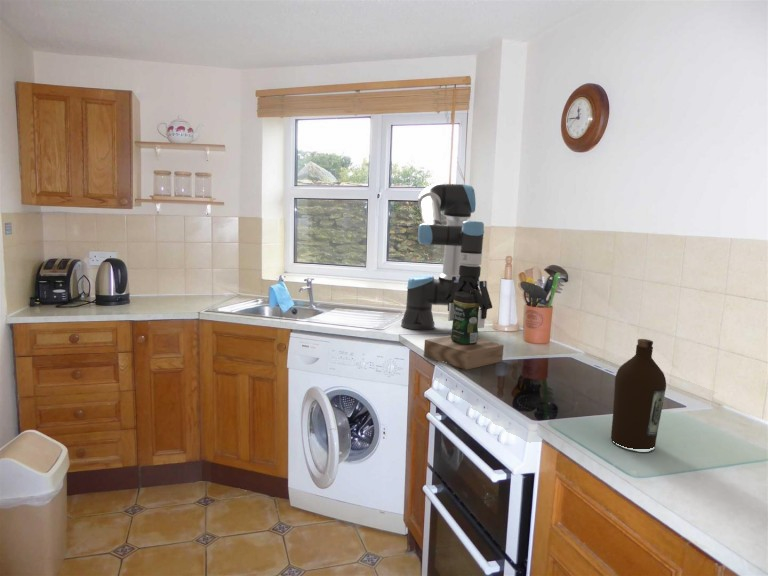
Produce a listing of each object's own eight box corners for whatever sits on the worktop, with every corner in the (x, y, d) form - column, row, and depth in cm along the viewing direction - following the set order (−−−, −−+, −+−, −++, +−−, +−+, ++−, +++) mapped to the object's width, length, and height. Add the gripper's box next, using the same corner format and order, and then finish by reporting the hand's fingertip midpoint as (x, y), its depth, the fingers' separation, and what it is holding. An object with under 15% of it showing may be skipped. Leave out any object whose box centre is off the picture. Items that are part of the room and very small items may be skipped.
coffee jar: (447, 339, 193) (450, 289, 191) (464, 338, 197) (468, 289, 195) (463, 346, 185) (467, 293, 182) (481, 344, 189) (485, 293, 186)
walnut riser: (423, 355, 193) (424, 339, 192) (459, 348, 206) (460, 333, 205) (466, 369, 178) (467, 352, 177) (502, 361, 191) (503, 345, 190)
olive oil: (601, 443, 124) (613, 339, 120) (616, 431, 132) (627, 332, 128) (650, 459, 117) (665, 348, 113) (662, 444, 125) (676, 341, 121)
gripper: (436, 261, 194) (433, 318, 197) (492, 269, 175) (487, 332, 178) (450, 261, 199) (446, 316, 202) (505, 268, 180) (500, 329, 183)
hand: (465, 324), depth 190 cm, fingers open, 13 cm apart
